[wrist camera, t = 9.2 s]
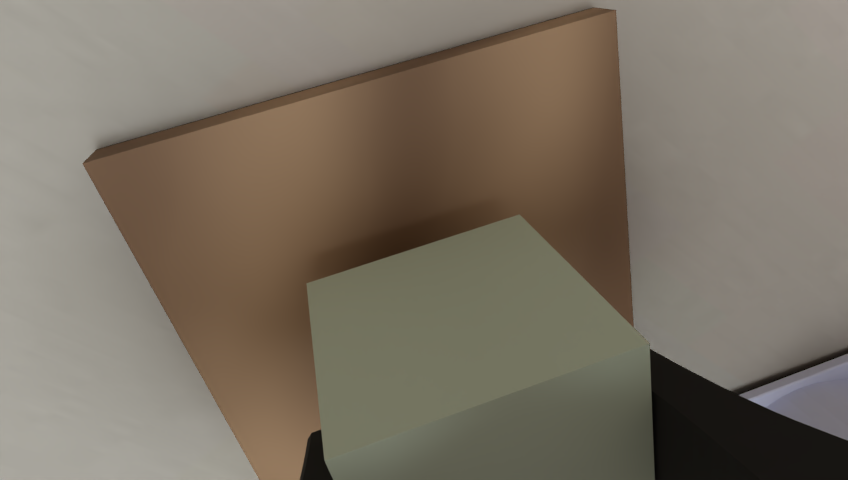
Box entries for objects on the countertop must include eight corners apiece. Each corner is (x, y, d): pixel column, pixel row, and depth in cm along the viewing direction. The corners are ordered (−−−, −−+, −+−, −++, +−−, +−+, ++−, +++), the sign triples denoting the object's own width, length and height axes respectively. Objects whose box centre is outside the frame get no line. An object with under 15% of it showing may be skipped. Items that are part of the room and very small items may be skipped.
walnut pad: (593, 7, 13) (615, 10, 13) (620, 372, 19) (637, 391, 18) (96, 149, 12) (82, 163, 11) (283, 495, 18) (283, 522, 17)
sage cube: (519, 214, 13) (649, 343, 8) (545, 376, 15) (657, 543, 11) (306, 283, 12) (324, 460, 8) (368, 439, 14) (409, 643, 10)
